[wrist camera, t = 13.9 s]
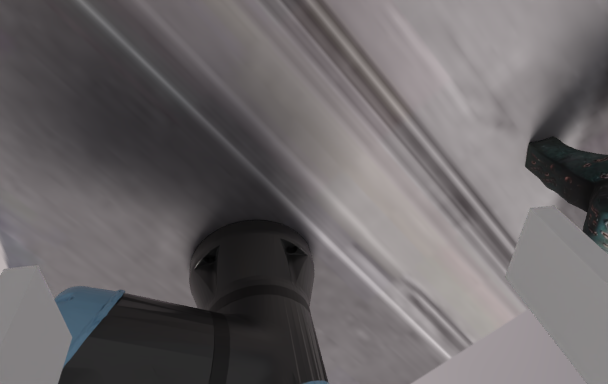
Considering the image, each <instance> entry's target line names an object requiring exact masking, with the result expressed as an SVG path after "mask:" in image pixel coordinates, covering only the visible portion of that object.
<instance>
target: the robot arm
mask: <svg viewBox="0 0 608 384" xmlns="http://www.w3.org/2000/svg"><path fill="white" fill-rule="evenodd" d="M505 278H506V279H507V281H508V282H509V283H510V284H511V286H512V287H513V288H514V290H515V291H516V292H517V294H518V295H519V296H520V297H521V299H522V300H523V301H524V303H525V304H526V305H527V307H528V308H529V309H530V310H531V312H532V313H533V314H534V316H535V317H536V318H537V320H538V321H539V322H540V323H541V325H542V326H543V327H544V329H545V330H546V331H547V332H548V334H549V335H550V336H551V338H552V339H553V340H554V342H555V343H556V344H557V346H558V347H559V348H560V349H561V351H562V352H563V353H564V355H565V356H566V357H567V359H568V360H569V361H570V362H571V364H572V365H573V366H574V368H575V369H576V370H577V371H578V373H579V374H580V375H581V377H582V378H583V379H584V381H585V382H586V383H587V384H608V254H607V253H606V252H605V251H604V250H603V249H601V248H600V247H599V246H598V245H597V244H596V243H595V242H594V241H593V240H592V239H590V238H589V237H588V236H587V235H586V234H585V233H584V232H583V231H582V230H580V229H579V228H578V227H577V226H576V225H575V224H574V223H573V222H572V221H571V220H569V219H568V218H567V217H566V216H565V215H564V214H563V213H562V212H561V211H559V210H558V209H557V208H556V207H555V206H547V207H538V208H530V210H529V212H528V215H527V218H526V221H525V223H524V226H523V229H522V232H521V234H520V237H519V240H518V243H517V245H516V248H515V251H514V254H513V257H512V259H511V262H510V265H509V268H508V270H507V273H506V276H505ZM313 281H314V264H313V260H312V256H311V253H310V249H309V247H308V245H307V243H306V242H305V240H304V239H303V238H302V237H301V236H300V235H299V234H298V233H297V232H295V231H294V230H292V229H290V228H289V227H287V226H284V225H282V224H279V223H275V222H270V221H262V220H252V221H243V222H238V223H234V224H231V225H228V226H225V227H223V228H221V229H219V230H217V231H215V232H214V233H212V234H211V235H209V236H208V237H207V238H206V239H205V240H204V241H203V242H202V243H201V244H200V245H199V246H198V248H197V249H196V251H195V252H194V254H193V257H192V259H191V264H190V278H189V282H190V289H191V293H192V295H193V298H194V300H195V303H196V305H197V307H198V308H193V307H188V306H184V305H179V304H174V303H169V302H165V301H160V300H155V299H150V298H146V297H141V296H136V295H131V294H127V293H125V291H124V290H118V291H110V290H104V289H97V288H91V287H85V286H76V287H71V288H68V289H66V290H64V291H63V292H61V293H60V294H59V295H58V296H57V297H56V298H55V299H54V298H53V296H52V293H51V291H50V289H49V287H48V285H47V283H46V281H45V279H44V277H43V274H42V272H41V270H40V268H39V266H38V265H35V266H26V267H17V268H9V269H4V270H3V272H2V273H1V275H0V384H329V383H328V379H327V376H326V372H325V368H324V364H323V360H322V356H321V352H320V348H319V344H318V340H317V336H316V333H315V329H314V325H313V321H312V317H311V313H310V308H309V306H310V300H311V293H312V287H313Z"/></svg>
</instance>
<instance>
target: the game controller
mask: <svg viewBox="0 0 608 384" xmlns="http://www.w3.org/2000/svg"><path fill="white" fill-rule="evenodd" d="M525 167H526V168H527V169H528V170H530V171H531V172H532V173H533V174H534V175H536V176H537V177H538V178H539V179H540V180H541V181H542V182H543V183H544V185H545V186H546V187H547V188H549V189H551V190H553V191H555V192H556V193H558V194H559V195H560V196H561V197H562V198H564V199H565V200H566V201H567V202H568V203H570V204H572V205H574V206H577V207H579V208H580V209H582V210H584V211H586V212H587V216H586V220H585V223H584V226H583V232H584V233H585V234H586V235H587V236H588V237H589V238H590V239H592V240H593V241H594V242H595V243H596V244H597V245H598V246H599V247H600V248H601V249H603V250H604V251H605V252H606V253H607V254H608V155H602V154H596V153H590V152H585V151H581V150H577V149H574V148H572V147H569V146H567V145H565V144H564V143H563V142H561V141H560V140H559V139H558V138H556V137H550V138H548V139H545V140H543V141H538V142H532V143H529V147H528V152H527V159H526V165H525Z"/></svg>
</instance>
